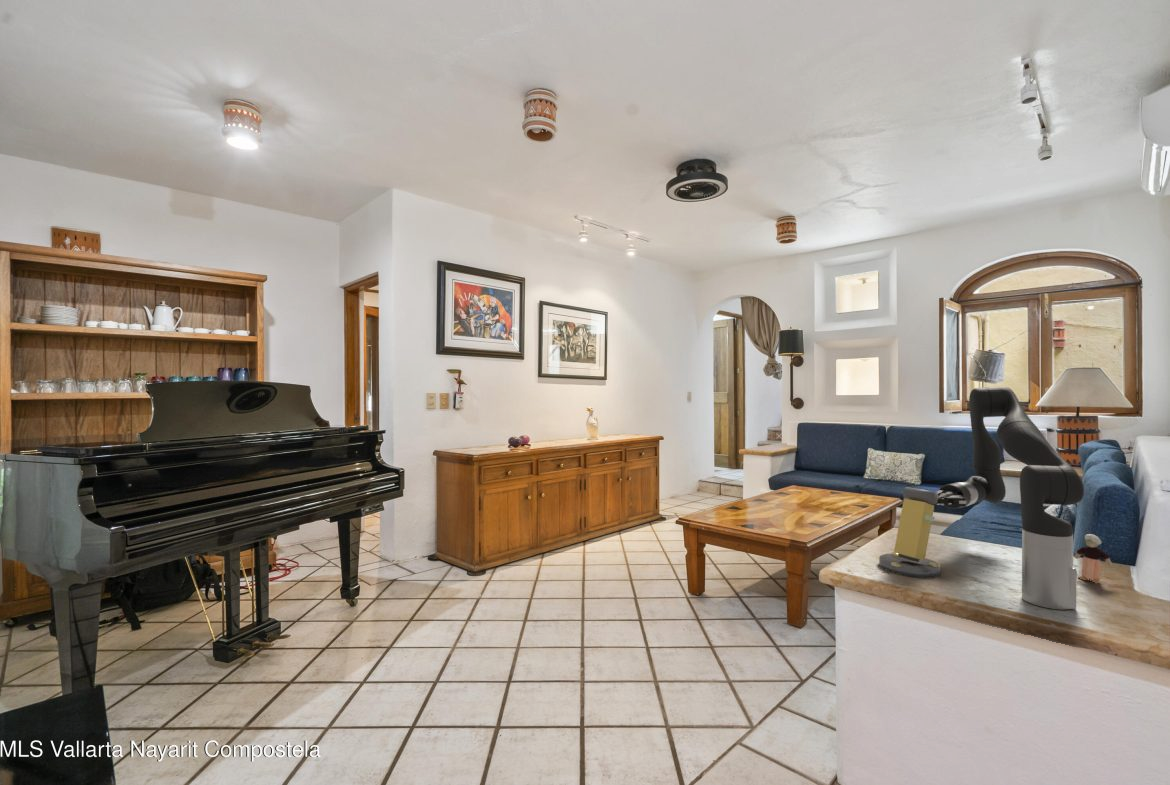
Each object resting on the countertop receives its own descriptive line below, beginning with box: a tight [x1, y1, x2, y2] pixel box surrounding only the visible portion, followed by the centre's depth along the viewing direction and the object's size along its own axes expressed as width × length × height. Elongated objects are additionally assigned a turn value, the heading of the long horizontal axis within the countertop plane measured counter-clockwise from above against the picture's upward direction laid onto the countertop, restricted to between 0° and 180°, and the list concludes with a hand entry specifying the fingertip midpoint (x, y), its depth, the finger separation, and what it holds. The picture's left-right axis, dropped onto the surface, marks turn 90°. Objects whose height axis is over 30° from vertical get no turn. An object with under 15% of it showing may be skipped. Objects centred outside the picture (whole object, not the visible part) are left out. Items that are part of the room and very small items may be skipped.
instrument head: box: [893, 486, 938, 562], centre depth 154 cm, size 5×8×21 cm, turn 29°
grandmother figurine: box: [1073, 533, 1113, 584], centre depth 143 cm, size 8×4×13 cm, turn 37°
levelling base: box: [878, 551, 941, 579], centre depth 153 cm, size 15×15×2 cm
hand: (927, 501), depth 157 cm, fingers closed
